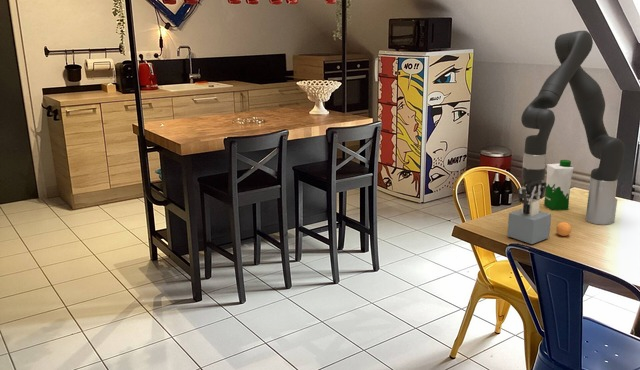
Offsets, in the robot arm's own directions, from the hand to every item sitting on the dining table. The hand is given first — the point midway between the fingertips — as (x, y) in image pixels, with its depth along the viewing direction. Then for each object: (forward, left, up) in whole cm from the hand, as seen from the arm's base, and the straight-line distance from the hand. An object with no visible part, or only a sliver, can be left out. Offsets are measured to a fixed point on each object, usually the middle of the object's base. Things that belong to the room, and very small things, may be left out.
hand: (530, 212), depth 197 cm
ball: (-14, -1, -7) cm, 16 cm away
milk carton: (-27, -31, -10) cm, 42 cm away
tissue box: (0, 0, -9) cm, 9 cm away
